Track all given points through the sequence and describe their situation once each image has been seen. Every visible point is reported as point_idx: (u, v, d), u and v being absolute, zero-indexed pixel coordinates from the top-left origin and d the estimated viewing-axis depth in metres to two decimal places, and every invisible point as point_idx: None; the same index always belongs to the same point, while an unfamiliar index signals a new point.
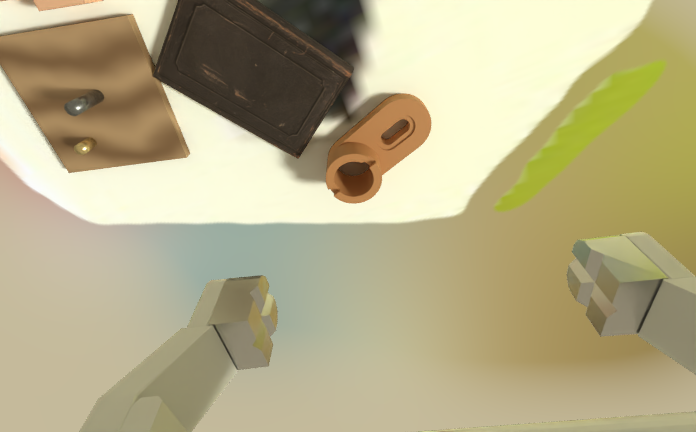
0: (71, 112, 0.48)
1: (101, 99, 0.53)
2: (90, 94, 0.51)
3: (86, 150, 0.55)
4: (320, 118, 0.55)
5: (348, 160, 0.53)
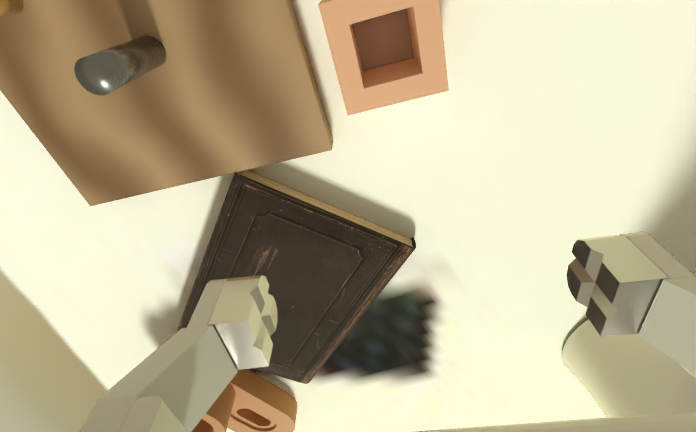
0: (84, 73, 0.18)
1: None
2: (151, 65, 0.21)
3: None
4: None
5: (214, 425, 0.39)
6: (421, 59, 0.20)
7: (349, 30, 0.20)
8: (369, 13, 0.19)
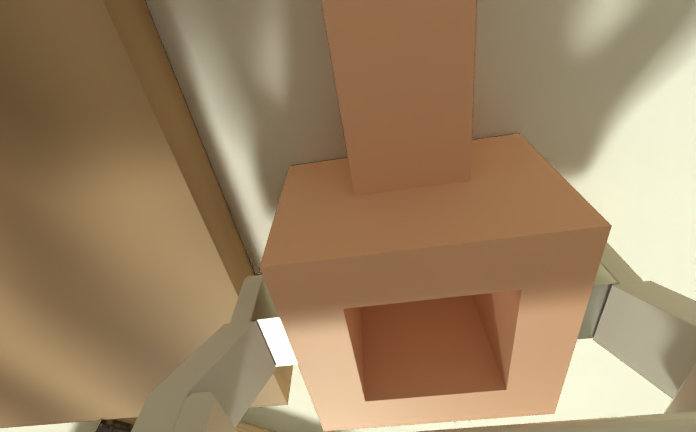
0: None
1: None
2: None
3: None
4: None
5: None
6: (509, 368, 0.08)
7: (342, 317, 0.07)
8: (400, 293, 0.07)
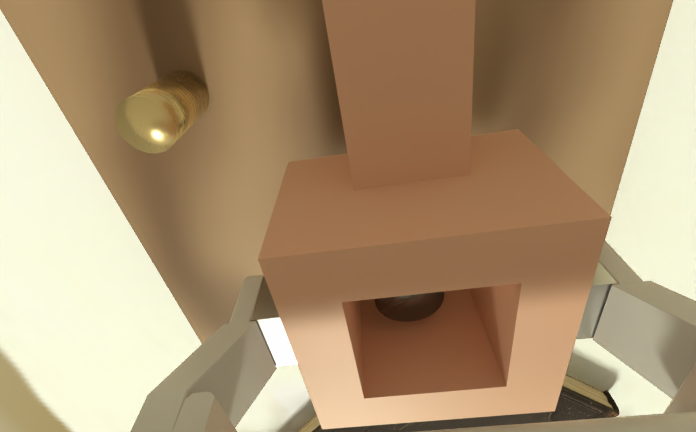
0: None
1: None
2: None
3: (151, 151, 0.11)
4: None
5: None
6: (509, 364, 0.08)
7: (341, 311, 0.07)
8: (399, 287, 0.07)
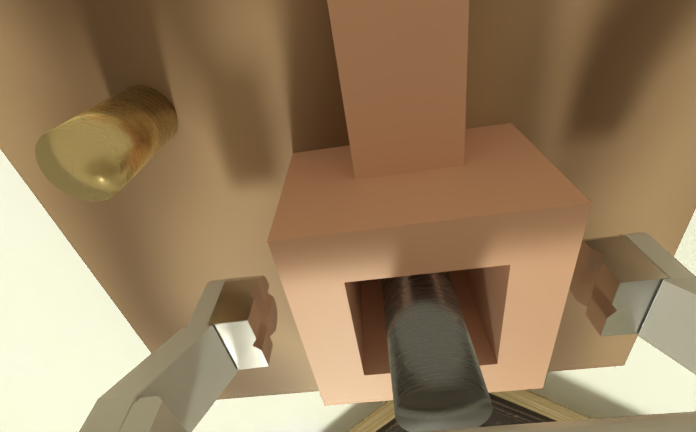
0: (422, 407, 0.07)
1: None
2: None
3: (91, 197, 0.08)
4: None
5: None
6: (500, 342, 0.09)
7: (343, 291, 0.08)
8: (397, 268, 0.07)
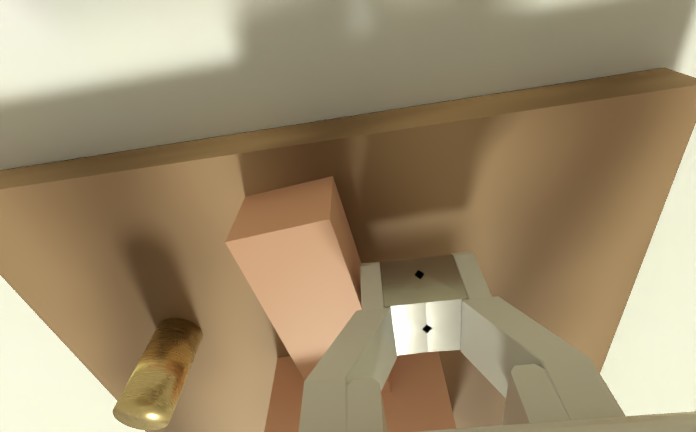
0: None
1: None
2: None
3: (147, 425, 0.11)
4: None
5: None
6: None
7: None
8: None
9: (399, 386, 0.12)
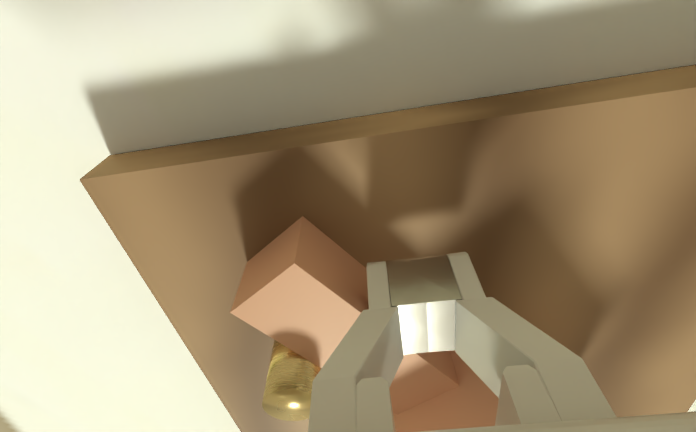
0: None
1: None
2: None
3: (288, 415, 0.11)
4: None
5: None
6: None
7: None
8: None
9: (465, 378, 0.12)
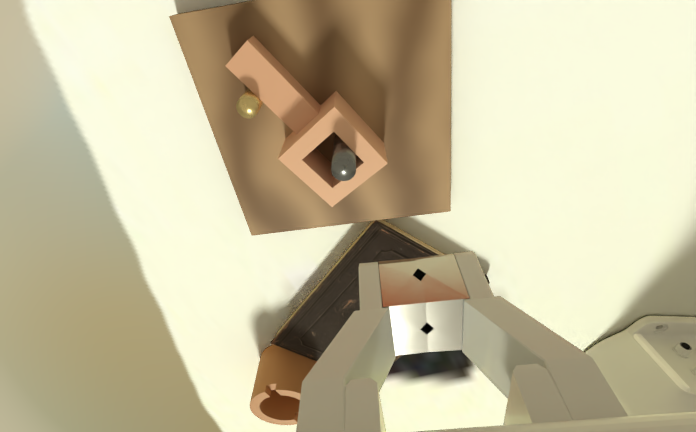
0: (337, 167, 0.27)
1: None
2: None
3: (247, 117, 0.28)
4: None
5: None
6: (358, 155, 0.28)
7: (303, 162, 0.29)
8: (309, 148, 0.28)
9: (321, 110, 0.28)
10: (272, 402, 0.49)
